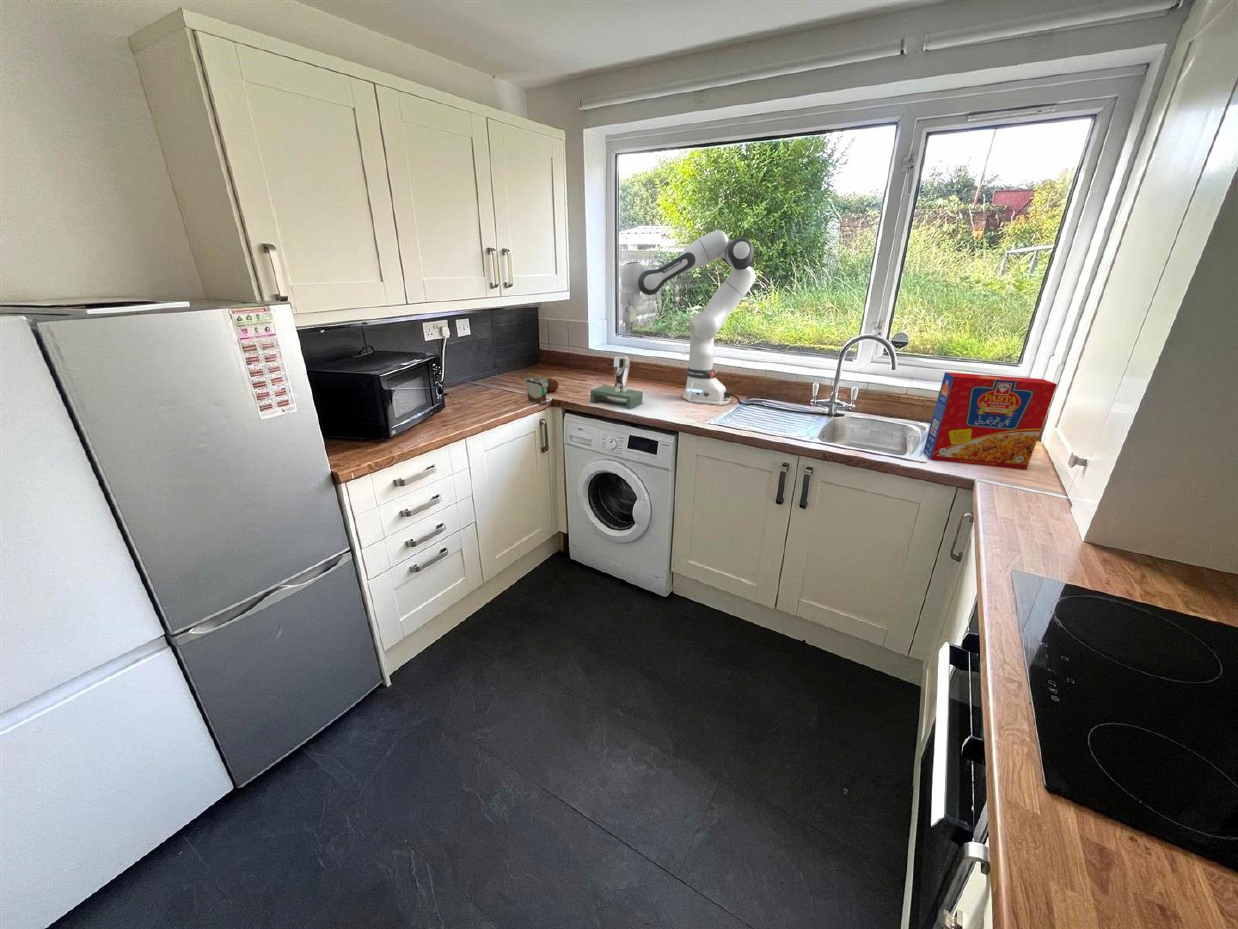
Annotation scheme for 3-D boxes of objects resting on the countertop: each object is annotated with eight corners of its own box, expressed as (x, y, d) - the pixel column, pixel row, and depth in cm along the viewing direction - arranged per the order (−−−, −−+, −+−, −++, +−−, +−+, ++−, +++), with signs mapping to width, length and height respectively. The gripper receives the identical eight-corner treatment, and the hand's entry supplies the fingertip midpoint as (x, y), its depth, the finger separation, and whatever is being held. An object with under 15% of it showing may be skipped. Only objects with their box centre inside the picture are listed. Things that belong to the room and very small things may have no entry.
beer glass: (617, 388, 225) (618, 355, 219) (631, 391, 222) (632, 357, 216) (609, 391, 219) (610, 357, 214) (623, 393, 216) (624, 359, 210)
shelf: (642, 403, 224) (642, 391, 222) (629, 409, 214) (630, 396, 212) (603, 397, 233) (604, 385, 231) (590, 402, 223) (590, 390, 221)
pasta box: (930, 459, 166) (954, 376, 156) (923, 452, 174) (945, 372, 163) (1026, 469, 160) (1057, 384, 150) (1014, 461, 168) (1042, 379, 158)
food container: (554, 403, 218) (554, 381, 214) (543, 405, 214) (542, 382, 210) (537, 398, 226) (536, 376, 222) (526, 400, 222) (525, 378, 218)
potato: (562, 390, 242) (562, 377, 240) (548, 394, 233) (548, 381, 231) (552, 388, 245) (552, 375, 243) (538, 392, 236) (537, 379, 233)
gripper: (634, 301, 215) (632, 334, 220) (639, 299, 234) (638, 329, 239) (619, 301, 216) (618, 333, 221) (626, 298, 235) (625, 329, 240)
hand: (628, 331), depth 230 cm, fingers open, 8 cm apart
